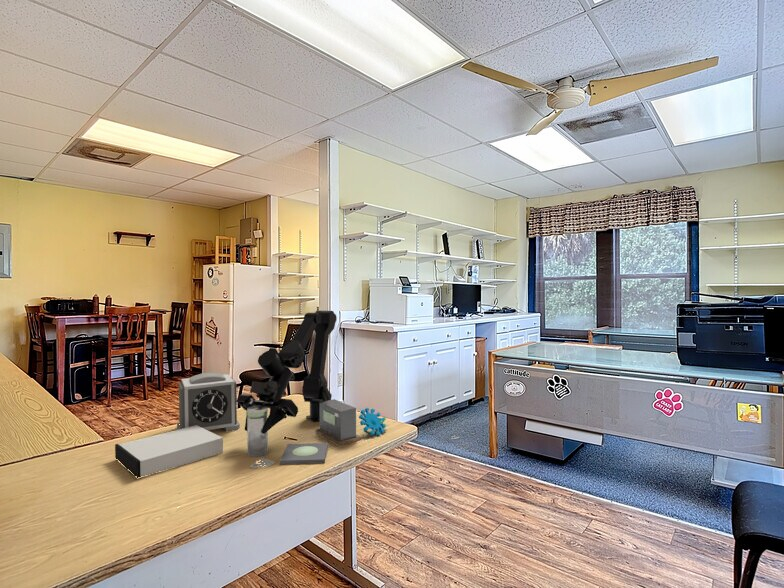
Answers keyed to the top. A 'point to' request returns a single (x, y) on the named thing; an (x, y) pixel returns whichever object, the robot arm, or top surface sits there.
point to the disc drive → (168, 450)
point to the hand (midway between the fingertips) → (254, 431)
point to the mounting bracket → (262, 463)
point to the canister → (257, 431)
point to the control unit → (337, 422)
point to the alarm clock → (208, 402)
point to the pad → (304, 453)
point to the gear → (372, 421)
